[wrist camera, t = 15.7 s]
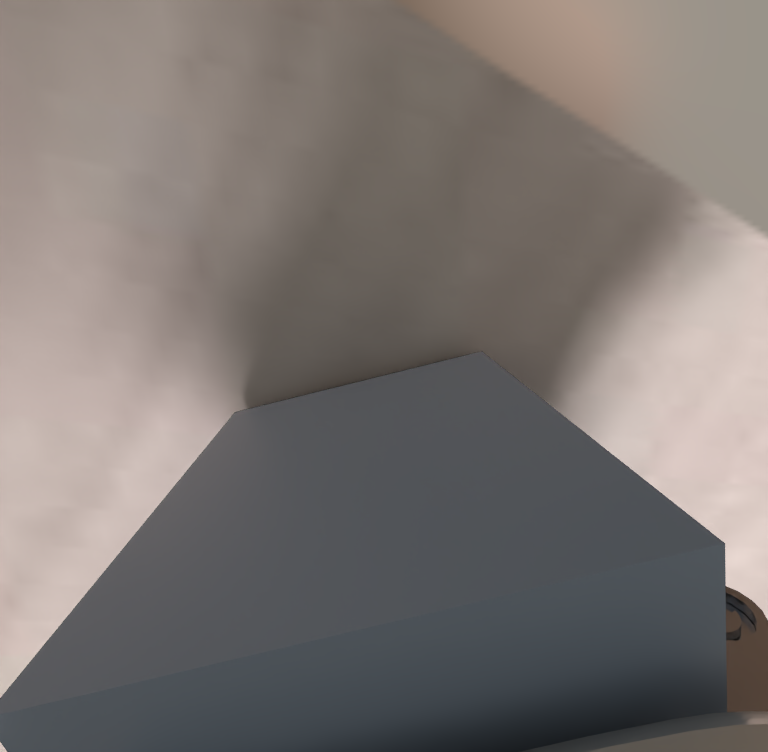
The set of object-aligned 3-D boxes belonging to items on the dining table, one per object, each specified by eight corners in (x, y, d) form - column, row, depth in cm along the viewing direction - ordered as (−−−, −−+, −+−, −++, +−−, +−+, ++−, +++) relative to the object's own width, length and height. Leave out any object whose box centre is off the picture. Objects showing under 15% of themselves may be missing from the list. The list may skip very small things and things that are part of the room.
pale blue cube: (519, 558, 15) (730, 964, 6) (307, 609, 15) (235, 1073, 6) (481, 351, 13) (724, 543, 4) (235, 412, 13) (-16, 718, 4)
